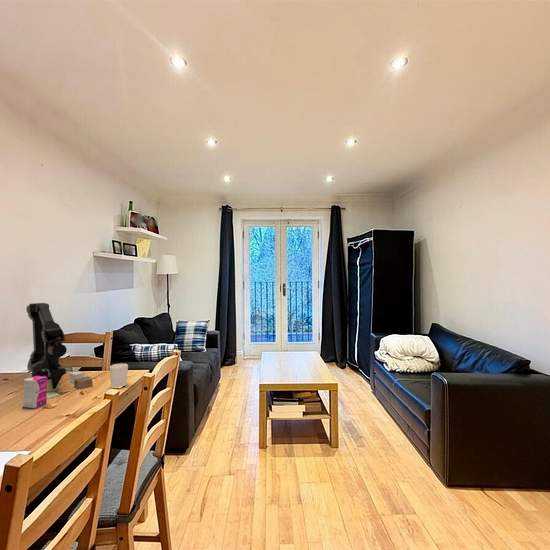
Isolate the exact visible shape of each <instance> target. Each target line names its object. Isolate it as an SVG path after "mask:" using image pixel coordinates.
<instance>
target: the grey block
mask: <svg viewBox="0 0 550 550" xmlns="http://www.w3.org/2000/svg"><path fill="white" fill-rule="evenodd" d="M82 377H85V372H83V371H73V372H71V373H69V383H70V384H74V379H77V378H82Z"/></svg>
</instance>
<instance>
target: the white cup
mask: <svg viewBox="0 0 550 550" xmlns="http://www.w3.org/2000/svg"><path fill="white" fill-rule="evenodd" d="M128 373H129V364H127V363H115V364H112V365H110V366H109V378H110V379H109V380H110V387H119V386H124V385H126V384H128ZM126 386H127V385H126Z"/></svg>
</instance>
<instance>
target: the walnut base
mask: <svg viewBox="0 0 550 550" xmlns="http://www.w3.org/2000/svg"><path fill="white" fill-rule="evenodd" d="M73 387H74V388H75V389H76V388H77V389H76V390H78V391H79V389H80V390H84V389H87V388H92V387H93V378H92V377H90V376H84V377H82V378H77V379H74V383H73Z"/></svg>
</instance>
